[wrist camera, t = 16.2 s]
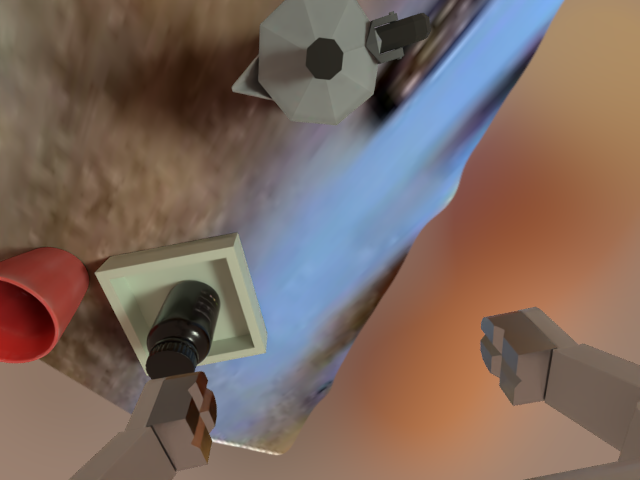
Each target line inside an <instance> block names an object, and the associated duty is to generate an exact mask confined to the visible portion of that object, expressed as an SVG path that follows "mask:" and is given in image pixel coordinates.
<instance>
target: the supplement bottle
mask: <svg viewBox="0 0 640 480" xmlns="http://www.w3.org/2000/svg"><path fill="white" fill-rule="evenodd" d="M220 306H221V302H220V298H219V295H218V294H217V292H216V291H215V290H214V289H213V288H212V287H211V286H209V285H208V284H206V283H203V282H200V281H184V282H181V283H179V284H177V285H176V286H174V287H173V288H172V289H171V290H170V291H169V293H168V295H167V297H166V299H165V301H164V303H163V305H162V307H161V309H160V311H159V313H158V315H157V317H156V319H155V321H154V323H153V325H152V327H151V329H150V331H149V333H148V336H147V341H146V344H147V349H148V352H149V356H148V359H147V361H146V365H145V366H146V371H147V374H148V376H149V377H151V379H152V380H153V379H159V378H166V377H169V376H175V375H181V374H187V373H193V372H195V368H196V366H197V365H198V364H199V363H201V362H202V361H203V360H204V359H205V358H206V357H207V355H208V354H209V351H210V348H211V345H212V341H213V337H214V333H215V328H216V324H217V320H218V316H219V312H220Z"/></svg>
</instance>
